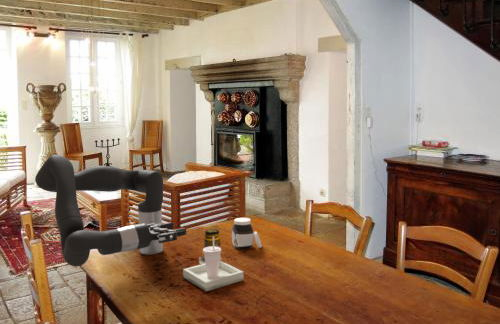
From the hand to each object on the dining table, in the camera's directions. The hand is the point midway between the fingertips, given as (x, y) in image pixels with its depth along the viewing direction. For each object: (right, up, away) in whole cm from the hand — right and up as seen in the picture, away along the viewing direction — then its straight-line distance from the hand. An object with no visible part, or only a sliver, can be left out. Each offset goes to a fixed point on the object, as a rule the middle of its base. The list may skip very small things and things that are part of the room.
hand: (179, 228), depth 154 cm
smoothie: (+10, -18, +9) cm, 23 cm away
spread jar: (+22, -14, +43) cm, 50 cm away
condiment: (+8, -16, +27) cm, 33 cm away
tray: (+10, -19, +9) cm, 23 cm away
